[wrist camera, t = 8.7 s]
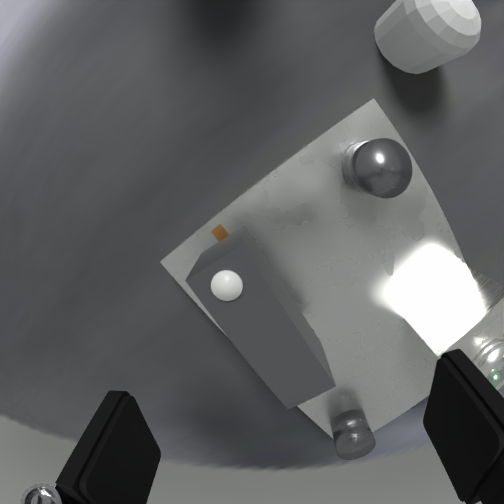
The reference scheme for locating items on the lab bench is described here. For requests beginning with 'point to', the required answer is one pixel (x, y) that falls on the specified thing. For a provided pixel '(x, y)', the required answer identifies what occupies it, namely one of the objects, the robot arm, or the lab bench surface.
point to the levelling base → (363, 272)
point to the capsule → (427, 33)
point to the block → (261, 318)
